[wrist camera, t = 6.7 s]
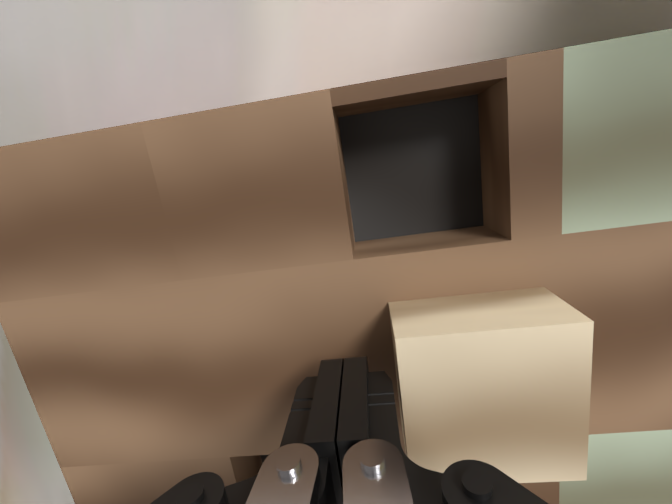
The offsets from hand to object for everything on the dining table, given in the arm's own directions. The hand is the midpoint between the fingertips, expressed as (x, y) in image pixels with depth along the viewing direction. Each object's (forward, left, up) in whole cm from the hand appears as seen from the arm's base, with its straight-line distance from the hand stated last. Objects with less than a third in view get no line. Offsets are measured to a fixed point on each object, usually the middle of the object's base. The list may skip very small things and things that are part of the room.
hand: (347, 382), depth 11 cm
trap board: (0, 0, -4) cm, 4 cm away
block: (0, +4, -1) cm, 4 cm away
